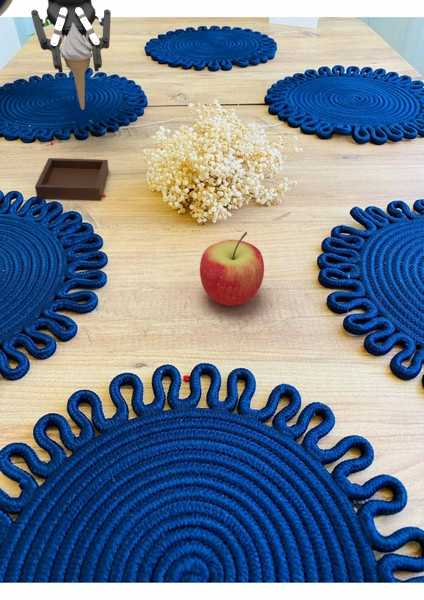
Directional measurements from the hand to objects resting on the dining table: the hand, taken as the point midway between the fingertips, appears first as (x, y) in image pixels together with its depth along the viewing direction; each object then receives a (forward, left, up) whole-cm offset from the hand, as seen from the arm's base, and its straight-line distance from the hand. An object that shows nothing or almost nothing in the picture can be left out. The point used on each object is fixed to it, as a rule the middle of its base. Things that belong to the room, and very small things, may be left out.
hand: (78, 69), depth 94 cm
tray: (0, -13, -15) cm, 20 cm away
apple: (+26, -43, -16) cm, 53 cm away
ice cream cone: (0, +2, -8) cm, 8 cm away
